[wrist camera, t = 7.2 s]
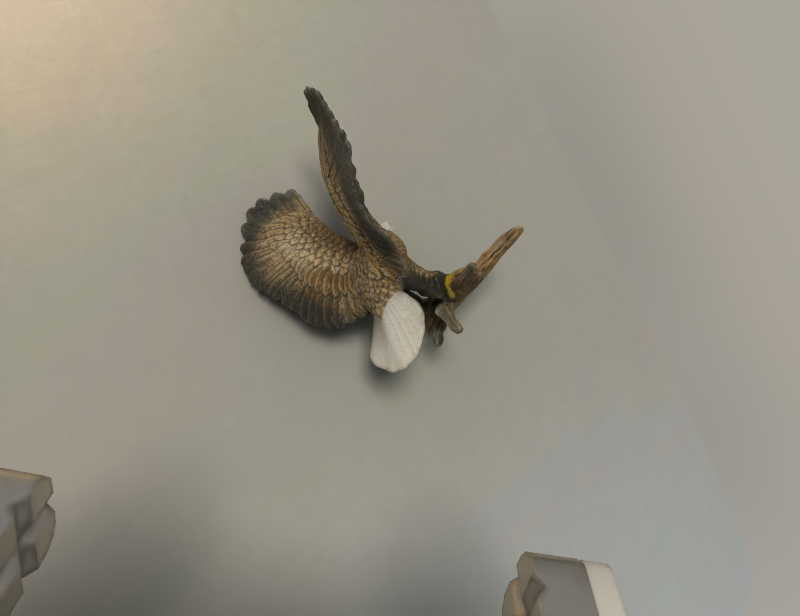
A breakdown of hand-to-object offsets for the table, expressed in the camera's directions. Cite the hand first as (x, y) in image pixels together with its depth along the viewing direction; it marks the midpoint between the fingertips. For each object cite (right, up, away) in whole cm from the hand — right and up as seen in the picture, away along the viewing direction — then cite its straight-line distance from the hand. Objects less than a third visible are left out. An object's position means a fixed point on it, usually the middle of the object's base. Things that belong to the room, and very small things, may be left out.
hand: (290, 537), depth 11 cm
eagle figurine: (0, +6, +15) cm, 16 cm away
